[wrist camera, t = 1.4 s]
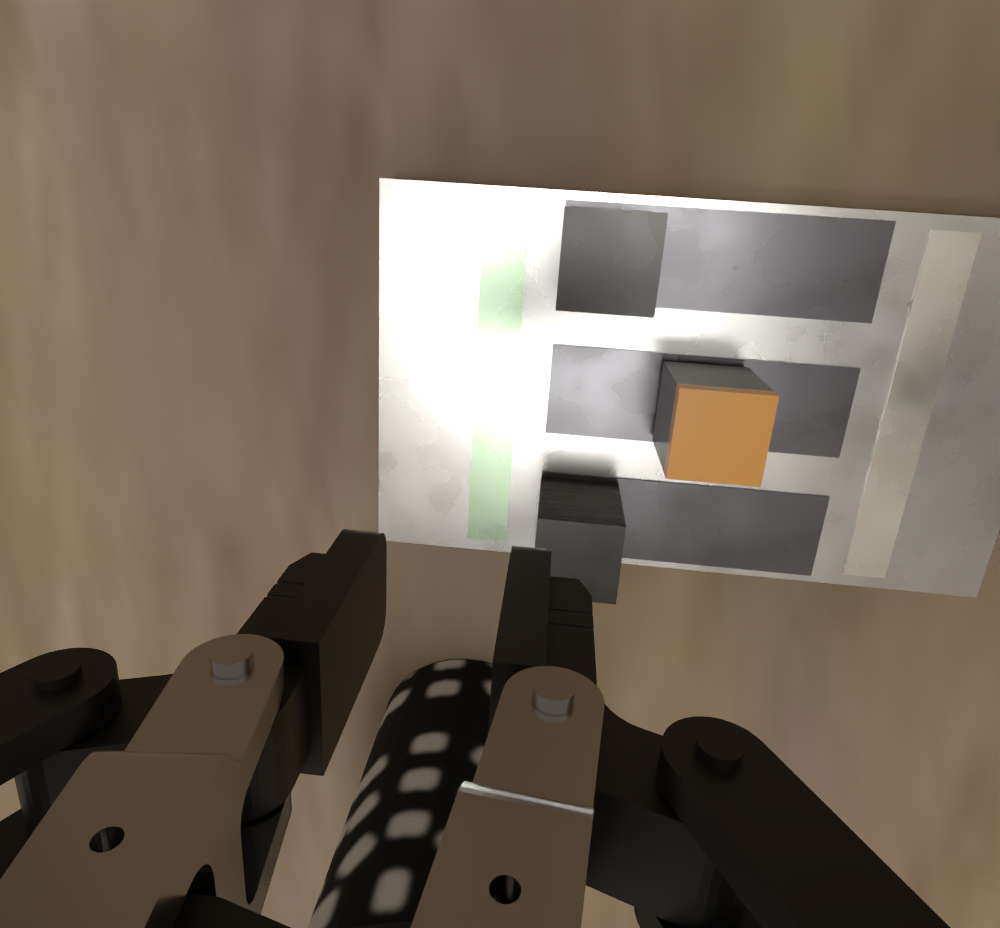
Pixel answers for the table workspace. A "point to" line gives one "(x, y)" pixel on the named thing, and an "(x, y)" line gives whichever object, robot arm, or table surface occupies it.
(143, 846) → the robot arm
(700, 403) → the block
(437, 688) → the spotted tube
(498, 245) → the panel
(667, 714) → the table surface
